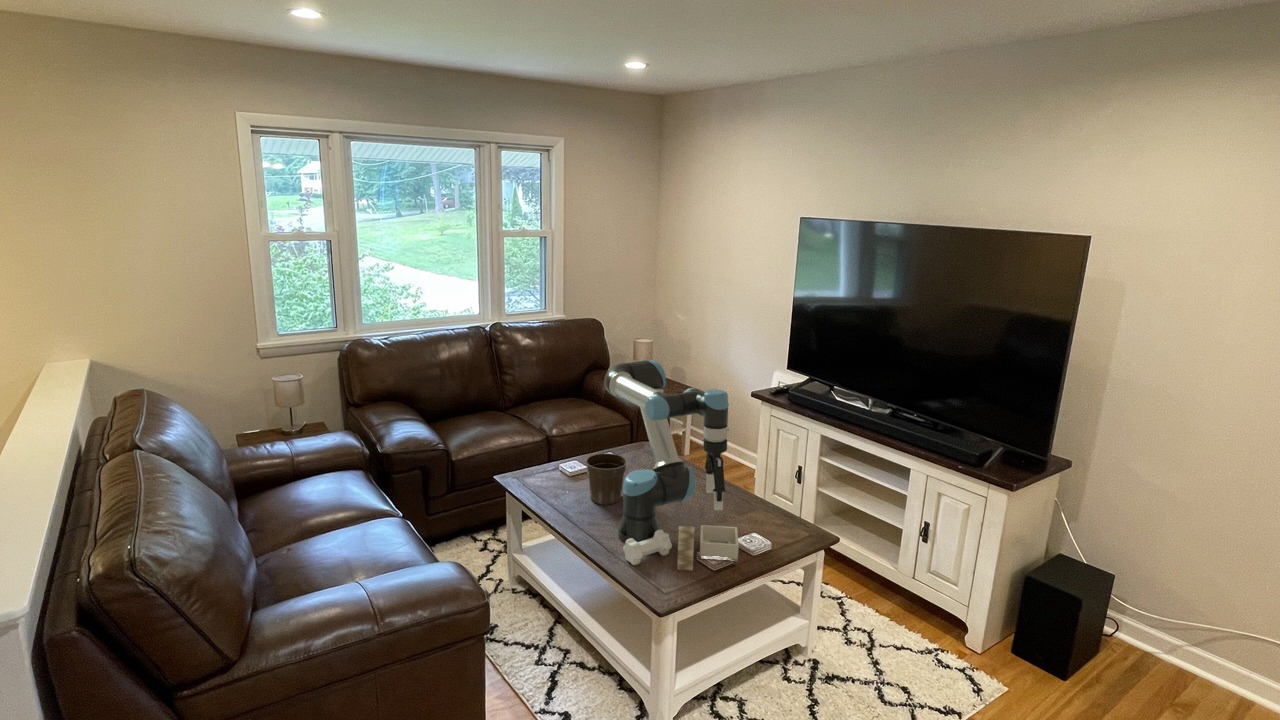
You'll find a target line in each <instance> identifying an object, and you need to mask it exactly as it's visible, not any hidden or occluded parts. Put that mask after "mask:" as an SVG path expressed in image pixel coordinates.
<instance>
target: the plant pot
mask: <svg viewBox="0 0 1280 720" xmlns="http://www.w3.org/2000/svg"><path fill="white" fill-rule="evenodd" d="M627 463H628V460H627V459H626V457H624V456H622V455H620V454H616V453H611V452H608V453H607V452H606V453H603V452H602V453H596V454H593V455H590V456H588V457H587V458H586V459H585V465H586V469H587V473H588V480H589V482H588V483H589V493H590V495H589V496H590V501H591V500H592V502H593V503H596V504H598V505H606V506H608V505H612V504H616V503H619V502H620V501H621V498H622V492H623V485H624V475H625V472H626V466H627Z"/></svg>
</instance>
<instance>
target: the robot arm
mask: <svg viewBox="0 0 1280 720" xmlns="http://www.w3.org/2000/svg"><path fill="white" fill-rule="evenodd" d="M666 376H667V375H666V373H665V370H664V367H663V366H662V365H661V364H660V362H658V361H656V360H653V359H651V360H650V359H649V360H646V359H644V360H640V361H631V362H630V361H629V362H622V363H618V364H614V365H613V366H611V367H610V368H609V370H607V372H606V374H605V376H604V387H605V390H606V391H607V392H608V393H609V394H610V395H611V396H613V397H615V398H617V399H625V400H627V401H629V402H630V403H632V404H634V405H636V406H638V407H640V413H641V415H642V419H643V423H644V426H645V430H646V433H647V434H646V435H647V438H648V441H649V445H650V448H651V453H652V456H653V459H654V460H653V461H654V463H655V465H654V466H653V469H649V468H648V469H647V468H646V469H644V468H641V469H636V470H633V471H630V472H629V473H627V475H626V476H625V478H623V485H622V492H623V494H622V497H623V499H622V502H623V503H622V504H623V505H622V506H623V508H622V510H623V513H622V517H621V520H620V522H619V525H618V529H617V536H618V539H619V540H620V541H621V542H623V543H624V544H625V542H626V540H628V539H630V538H633V539H634V540H635V541H636V542H641V541H644V540H647V539H650V538H653V536H654V534H655V532H656V531H657V530H660V529H661V527H660V524H659V520H658V518H657V508H658V507H662V506H666V505H670V504H674V503H681V502H683V501H686V500H689V499H690V498H691V499H692V497H693V495H694V493H695V489H696V476H695V473H694V471H693V470H692V468H691V467H690V466H686V465H685V462H684V460H683V459H681V458H679V456H678V452H677V448H676V445H675V441H674V439H673V434H672V431H671V428H670V423H669V421H668V419H672V418H678V417H686V416H691V415H699V416H701V417H703V443H702V444H703V447H702V448H703V450H704V451H705V453H706V456H705V457H706V459H705V465H704V470H705V473H706V475H705V476H706V478H705V483H706V484H705V493H706V494H713V510H714V511H723V510H724V492H726V486H725V485H726V484H725V473H724V472H725V471H724V470H725V469H724V462H725V461H724V459H723V456H722V455H721V454H724V453H726V452H727V450H728V440H727V438H728V432H729V431H730V427H728V423H729V422H728V421H729V419H728V418H729V405H730V404H729V395H728V392H726V391H725V390H723V389H718V388H717V389H714V388H713V389H708V390H706V391H704V390H702V389H700V388H696V387H695V388H694V387H690V388H687V389H686V390H684V391H683V392H678V393H676V392H675V393H670V394H666V393H664V388H666V384H667V381H666V380H667V377H666Z"/></svg>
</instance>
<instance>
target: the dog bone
mask: <svg viewBox="0 0 1280 720" xmlns="http://www.w3.org/2000/svg"><path fill="white" fill-rule="evenodd" d="M672 548H673V543H671V539H670V535H669V533H667V532H665V531H664V530H663V529H662V528H660V530H657V531H656V532H655V534H654V536H653V538H650V539H647V540H644V541H641V542H636V541H635V540H634V539H633V538H630V539H628V540H626V542H625V543H624V546H623V547H622V549H623V553H624V556H625V560H626V561H627V562H629V563H630V564H631V565H632V566H637V565H639V564H640V563H641V560H642V559H643V557H645V556H648V555H650V554H651V555H652V554H654V553H659V554H660V555H661V556H664V557H665V556H667V555H668V554H669V553H670V551H671V549H672Z"/></svg>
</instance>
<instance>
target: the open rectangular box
mask: <svg viewBox="0 0 1280 720" xmlns="http://www.w3.org/2000/svg"><path fill="white" fill-rule="evenodd" d="M738 534H739V532H738V527H737V526H727V525H726V526H723V525H722V526H721V525H708V524H701V525H700V536H699V538H700V539H699V541H700V542H699V557H700V556H720V557H728V558H731V559H732V560H734V561H735V562H736V563H738V561H739V547H740V545H739V535H738ZM735 562H734V563H735Z"/></svg>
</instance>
